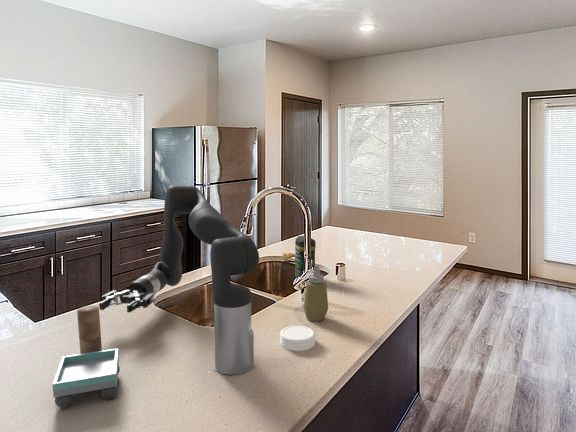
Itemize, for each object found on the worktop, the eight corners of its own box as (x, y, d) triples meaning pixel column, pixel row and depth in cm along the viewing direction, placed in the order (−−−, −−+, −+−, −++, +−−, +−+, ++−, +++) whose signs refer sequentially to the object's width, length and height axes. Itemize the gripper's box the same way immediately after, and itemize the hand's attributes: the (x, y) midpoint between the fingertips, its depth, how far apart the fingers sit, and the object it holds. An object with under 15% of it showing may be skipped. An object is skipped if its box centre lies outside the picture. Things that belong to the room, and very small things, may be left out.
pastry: (298, 258, 208) (298, 251, 208) (302, 261, 202) (302, 254, 201) (281, 259, 206) (281, 252, 205) (283, 263, 200) (283, 255, 199)
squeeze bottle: (329, 323, 128) (330, 269, 125) (303, 323, 128) (304, 268, 125) (326, 313, 136) (328, 262, 133) (303, 313, 136) (303, 261, 133)
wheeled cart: (120, 372, 99) (118, 347, 98) (118, 400, 88) (116, 373, 87) (63, 381, 95) (61, 356, 94) (54, 413, 83) (51, 384, 82)
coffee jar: (292, 276, 177) (293, 234, 174) (309, 274, 179) (310, 234, 177) (299, 283, 168) (300, 239, 165) (317, 281, 170) (318, 238, 167)
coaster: (308, 334, 121) (308, 323, 121) (320, 349, 112) (320, 337, 111) (276, 338, 118) (276, 327, 118) (285, 354, 109) (285, 342, 108)
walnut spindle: (103, 354, 108) (99, 304, 106) (101, 363, 103) (98, 311, 101) (82, 357, 106) (78, 306, 104) (79, 366, 101) (75, 314, 99)
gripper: (122, 276, 131) (90, 293, 115) (163, 279, 128) (136, 297, 112) (124, 298, 132) (92, 318, 116) (164, 301, 129) (138, 322, 114)
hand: (114, 308), depth 114 cm, fingers open, 8 cm apart
